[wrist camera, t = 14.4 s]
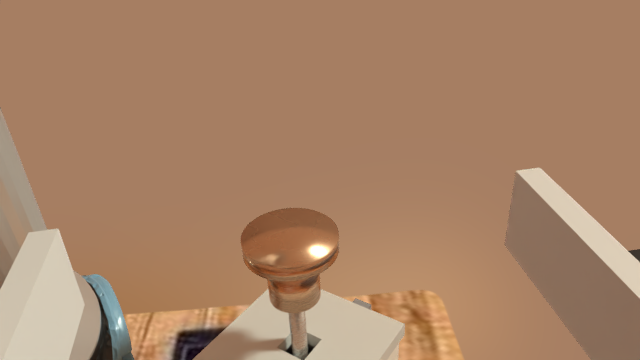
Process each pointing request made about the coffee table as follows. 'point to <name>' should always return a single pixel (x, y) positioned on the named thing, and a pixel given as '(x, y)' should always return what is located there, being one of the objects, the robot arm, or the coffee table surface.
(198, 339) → the coffee table surface
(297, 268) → the plunger
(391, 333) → the press
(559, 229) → the robot arm
